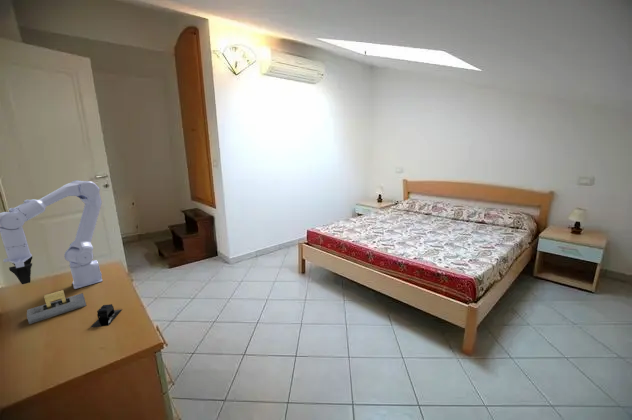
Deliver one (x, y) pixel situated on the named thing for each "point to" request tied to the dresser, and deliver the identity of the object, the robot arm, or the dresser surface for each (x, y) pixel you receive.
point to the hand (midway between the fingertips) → (26, 279)
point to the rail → (55, 308)
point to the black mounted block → (106, 316)
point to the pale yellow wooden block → (54, 298)
